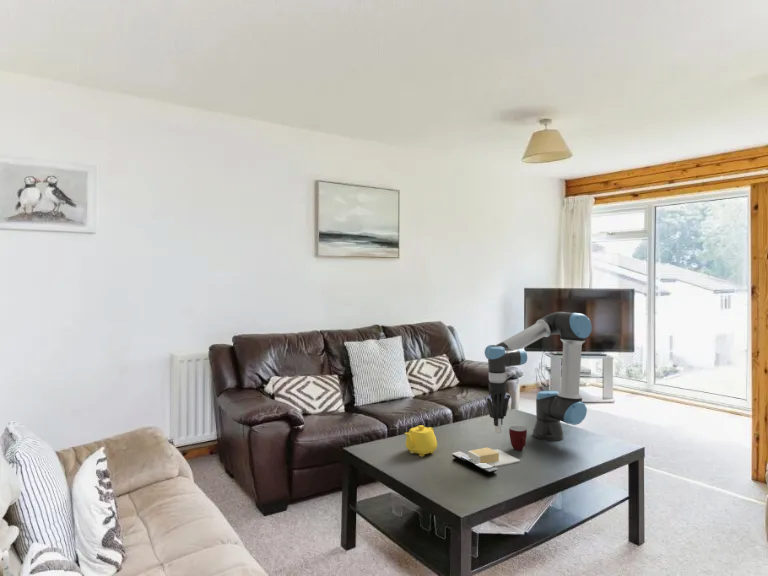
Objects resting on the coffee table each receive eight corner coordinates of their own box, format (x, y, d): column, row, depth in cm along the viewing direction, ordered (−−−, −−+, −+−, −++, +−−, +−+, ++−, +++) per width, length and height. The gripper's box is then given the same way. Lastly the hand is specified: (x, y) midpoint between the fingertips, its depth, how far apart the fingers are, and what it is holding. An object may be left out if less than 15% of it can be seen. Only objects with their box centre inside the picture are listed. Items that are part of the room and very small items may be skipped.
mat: (498, 450, 237) (498, 449, 237) (520, 461, 223) (520, 460, 223) (460, 457, 229) (460, 456, 229) (481, 469, 214) (481, 468, 214)
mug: (533, 452, 234) (533, 431, 234) (518, 454, 231) (518, 433, 231) (520, 445, 244) (520, 425, 244) (505, 447, 241) (505, 427, 241)
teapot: (444, 451, 236) (444, 425, 236) (415, 462, 222) (415, 434, 222) (422, 444, 246) (422, 419, 246) (393, 455, 232) (393, 427, 232)
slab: (488, 447, 230) (468, 450, 225) (498, 452, 223) (478, 456, 218) (488, 454, 230) (468, 458, 226) (498, 460, 223) (478, 464, 218)
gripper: (503, 377, 233) (504, 427, 234) (480, 381, 227) (481, 432, 228) (514, 380, 226) (515, 432, 227) (490, 384, 220) (491, 437, 221)
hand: (498, 432), depth 227 cm, fingers closed
